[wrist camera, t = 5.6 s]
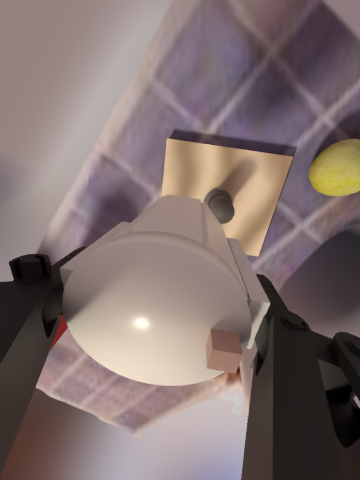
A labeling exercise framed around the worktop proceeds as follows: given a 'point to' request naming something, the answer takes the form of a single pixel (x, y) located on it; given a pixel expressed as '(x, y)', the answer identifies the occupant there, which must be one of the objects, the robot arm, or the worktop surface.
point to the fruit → (337, 169)
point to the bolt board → (228, 186)
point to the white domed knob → (162, 298)
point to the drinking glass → (247, 373)
